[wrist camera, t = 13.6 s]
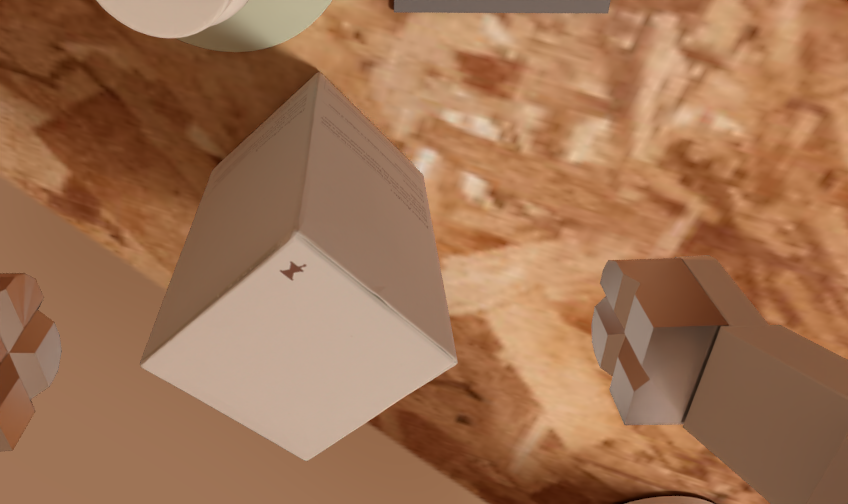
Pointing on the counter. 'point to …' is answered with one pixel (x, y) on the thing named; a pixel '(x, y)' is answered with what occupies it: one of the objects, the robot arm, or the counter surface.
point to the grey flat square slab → (503, 6)
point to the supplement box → (306, 280)
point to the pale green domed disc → (259, 25)
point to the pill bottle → (171, 15)
